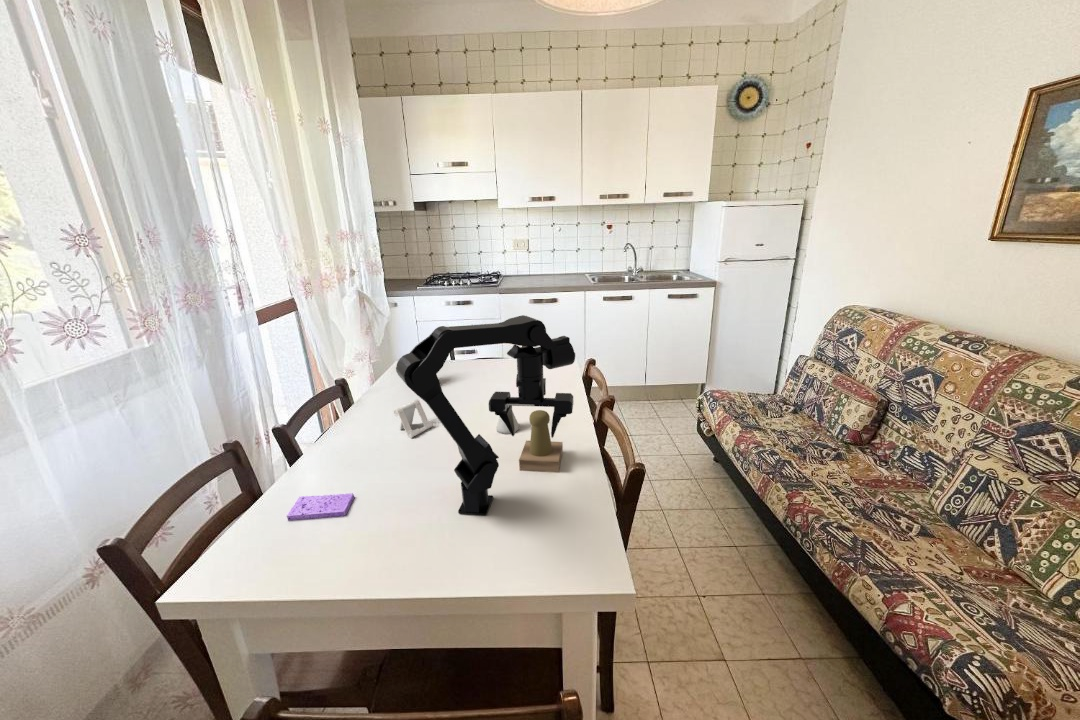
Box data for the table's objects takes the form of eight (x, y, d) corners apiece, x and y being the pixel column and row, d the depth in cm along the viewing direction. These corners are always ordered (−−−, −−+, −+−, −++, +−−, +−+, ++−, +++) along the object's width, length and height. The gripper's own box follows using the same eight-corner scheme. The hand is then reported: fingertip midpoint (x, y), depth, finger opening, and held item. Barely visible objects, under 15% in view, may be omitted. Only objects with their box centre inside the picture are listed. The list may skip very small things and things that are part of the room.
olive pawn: (525, 453, 113) (523, 415, 110) (536, 442, 118) (534, 405, 115) (545, 458, 111) (544, 419, 107) (556, 447, 116) (555, 409, 112)
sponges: (301, 502, 103) (299, 496, 102) (355, 498, 104) (354, 491, 103) (287, 522, 96) (285, 515, 96) (345, 518, 97) (344, 511, 97)
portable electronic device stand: (412, 439, 130) (408, 413, 127) (394, 433, 134) (390, 408, 131) (433, 427, 136) (430, 402, 134) (416, 421, 141) (412, 398, 138)
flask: (516, 435, 129) (514, 404, 126) (493, 433, 131) (490, 403, 128) (522, 424, 136) (520, 394, 133) (499, 422, 137) (497, 393, 134)
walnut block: (558, 472, 110) (558, 461, 109) (519, 470, 112) (519, 460, 111) (562, 451, 119) (562, 442, 118) (526, 450, 121) (526, 440, 120)
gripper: (574, 362, 103) (574, 421, 108) (497, 361, 106) (501, 419, 111) (571, 378, 93) (572, 444, 98) (485, 377, 95) (490, 441, 100)
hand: (532, 436), depth 102 cm, fingers open, 9 cm apart
